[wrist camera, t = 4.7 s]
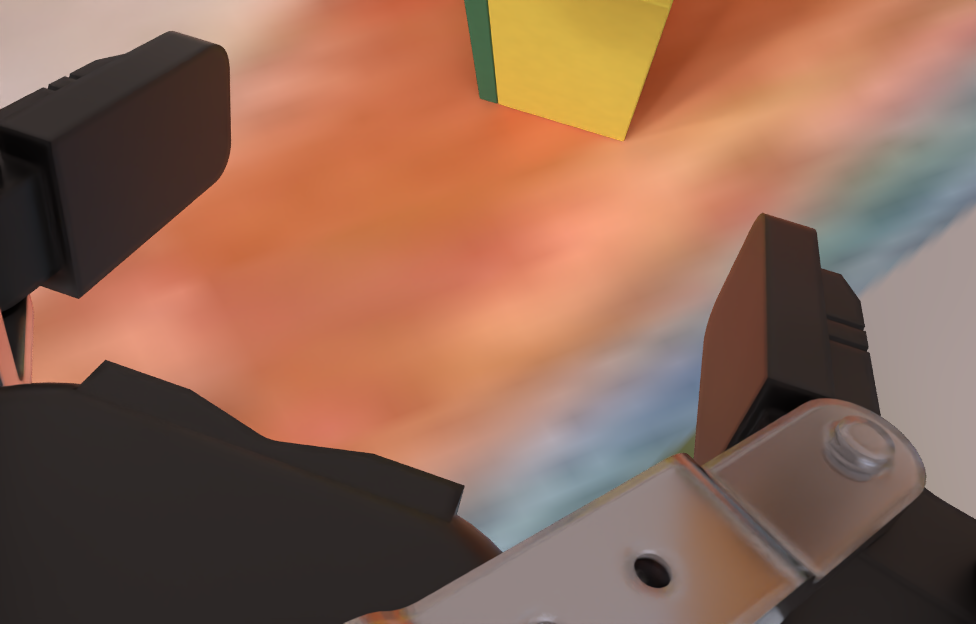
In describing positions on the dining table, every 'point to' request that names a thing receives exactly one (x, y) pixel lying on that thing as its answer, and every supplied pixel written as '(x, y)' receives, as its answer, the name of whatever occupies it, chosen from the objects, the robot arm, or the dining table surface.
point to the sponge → (567, 57)
